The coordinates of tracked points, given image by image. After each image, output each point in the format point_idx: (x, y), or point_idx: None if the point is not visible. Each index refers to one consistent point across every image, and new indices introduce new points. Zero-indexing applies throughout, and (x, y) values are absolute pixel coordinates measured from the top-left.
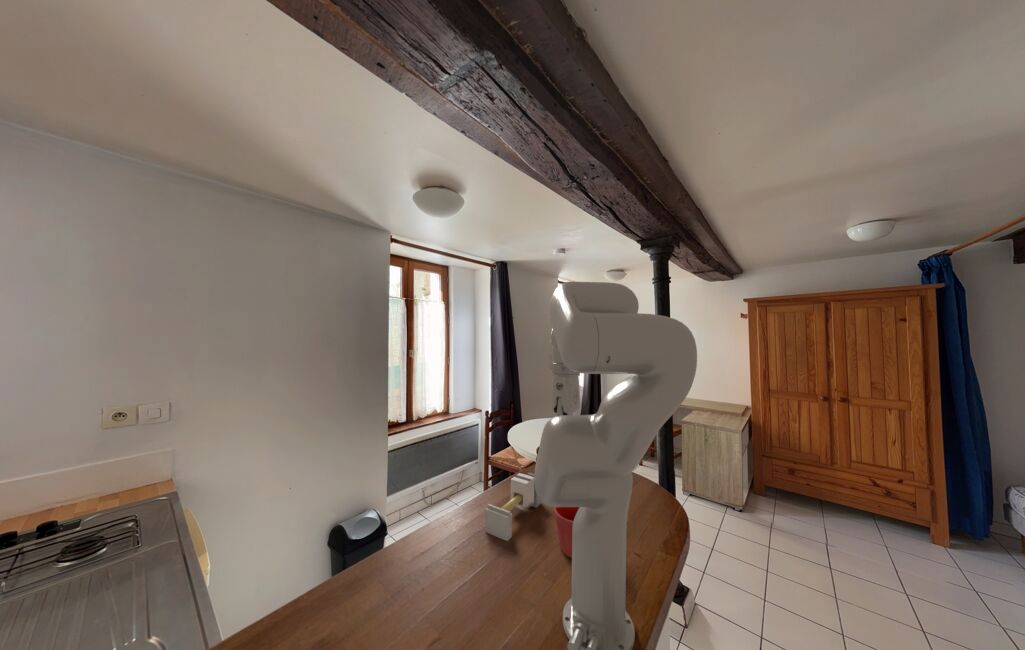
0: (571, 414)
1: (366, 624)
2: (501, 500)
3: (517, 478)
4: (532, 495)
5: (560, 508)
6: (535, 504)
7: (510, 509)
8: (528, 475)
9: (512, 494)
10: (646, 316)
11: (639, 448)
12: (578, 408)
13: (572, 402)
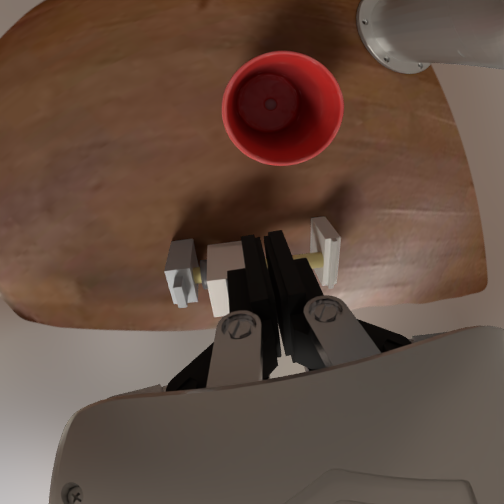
0: (244, 374)
1: (473, 244)
2: None
3: None
4: (215, 254)
5: (273, 154)
6: (193, 244)
7: (296, 255)
8: (186, 301)
9: None
10: None
11: None
12: (145, 406)
13: (500, 455)
